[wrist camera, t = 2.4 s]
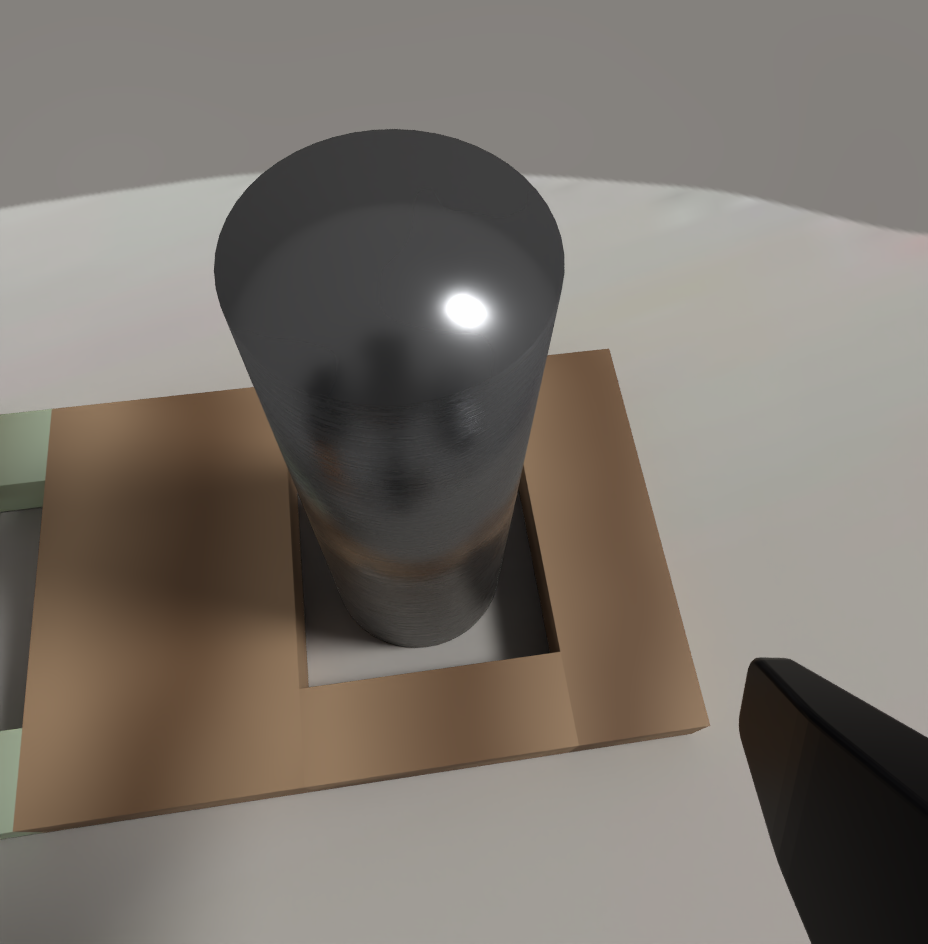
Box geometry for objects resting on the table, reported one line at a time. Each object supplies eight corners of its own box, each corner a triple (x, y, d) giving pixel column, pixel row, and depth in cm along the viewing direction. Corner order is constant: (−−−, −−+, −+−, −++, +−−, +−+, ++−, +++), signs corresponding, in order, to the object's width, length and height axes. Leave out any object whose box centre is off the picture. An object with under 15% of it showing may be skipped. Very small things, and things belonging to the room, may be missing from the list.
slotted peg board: (-389, 899, 18) (-461, 904, 17) (-269, 474, 23) (-318, 448, 21) (691, 733, 20) (710, 725, 19) (599, 377, 25) (609, 348, 23)
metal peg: (385, 679, 21) (310, 468, 9) (308, 539, 22) (160, 203, 11) (529, 594, 22) (633, 305, 10) (447, 466, 23) (452, 89, 12)
